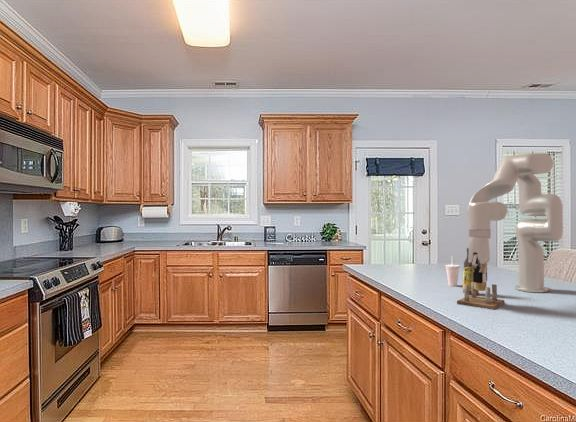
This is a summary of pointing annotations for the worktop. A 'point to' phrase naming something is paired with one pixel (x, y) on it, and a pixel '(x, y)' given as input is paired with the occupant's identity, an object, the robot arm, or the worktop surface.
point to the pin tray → (481, 298)
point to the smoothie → (452, 273)
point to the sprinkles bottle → (482, 285)
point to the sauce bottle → (468, 274)
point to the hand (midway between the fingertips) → (480, 281)
